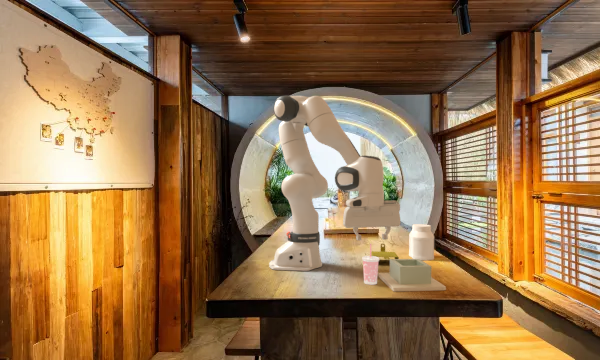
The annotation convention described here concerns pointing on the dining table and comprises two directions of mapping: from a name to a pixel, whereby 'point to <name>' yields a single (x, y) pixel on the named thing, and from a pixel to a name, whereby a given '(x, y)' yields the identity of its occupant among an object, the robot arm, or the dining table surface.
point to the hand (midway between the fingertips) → (371, 239)
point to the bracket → (384, 253)
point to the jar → (421, 242)
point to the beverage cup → (370, 269)
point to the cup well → (410, 276)
